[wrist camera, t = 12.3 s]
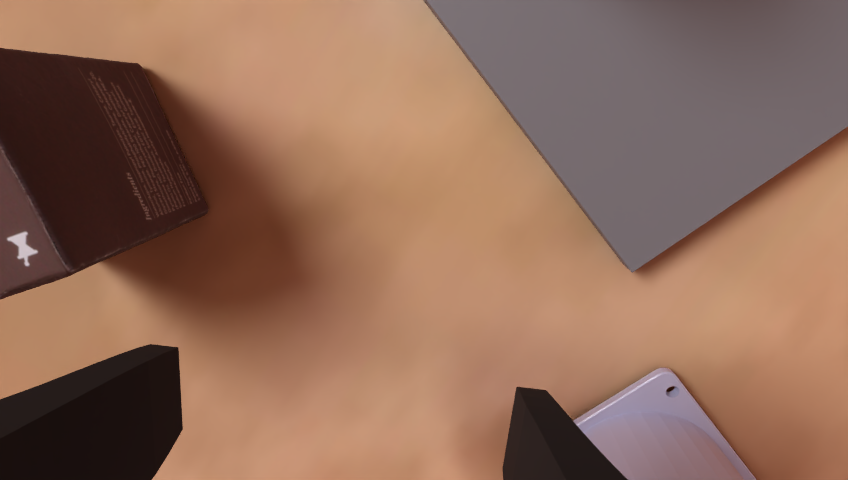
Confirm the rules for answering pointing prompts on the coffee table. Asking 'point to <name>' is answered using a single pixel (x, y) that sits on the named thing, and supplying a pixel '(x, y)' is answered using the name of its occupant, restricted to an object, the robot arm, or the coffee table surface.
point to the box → (82, 166)
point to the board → (660, 99)
